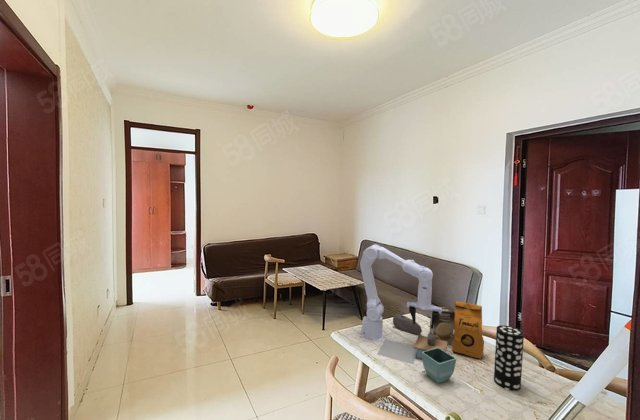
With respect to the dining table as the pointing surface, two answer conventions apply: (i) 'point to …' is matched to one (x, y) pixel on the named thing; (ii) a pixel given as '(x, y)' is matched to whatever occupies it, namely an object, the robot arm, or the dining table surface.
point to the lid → (429, 343)
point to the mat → (398, 351)
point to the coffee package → (468, 330)
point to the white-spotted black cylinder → (508, 357)
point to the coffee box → (444, 325)
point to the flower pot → (438, 364)
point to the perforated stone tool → (406, 324)
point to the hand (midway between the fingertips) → (423, 325)
